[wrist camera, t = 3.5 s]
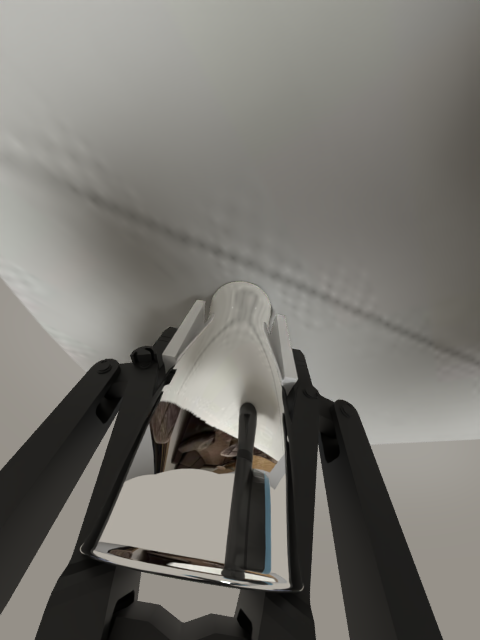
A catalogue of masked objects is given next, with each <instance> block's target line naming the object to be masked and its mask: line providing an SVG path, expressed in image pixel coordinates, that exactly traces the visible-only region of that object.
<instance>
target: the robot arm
mask: <svg viewBox="0 0 480 640" xmlns="http://www.w3.org/2000/svg"><path fill="white" fill-rule="evenodd" d="M204 324H205V301H202V300H196V302H195V303H194V305H193V307H192V308H191V310H190V311H189V313H188V314H187V316H186V317H185V319H184V321H183V322H182V324H181V325H180V327H179V328H173V327H169V328H168V329H166V330H165V331H164V332H163V333H162V335H161V337H160V338H159V339H158V341H157V342H156V343H155V344H154V346H153V347H150V346H144V347H140V348H138V349H136V350H134V351H133V352H132V354H131V355H130V356H131V359H132V362H133V363H126V364H119V363H118V362H117V361H116V360H114V359H105V360H102V361H100V362H98V363H96V364H95V365H94V366H92V367H91V369H90V370H89V371H88V372H87V373H86V374H85V376H83V378H82V379H81V380H80V381H79V382H78V383H77V385H76V386H75V387H74V388H73V389H72V390H71V391H70V392H69V393H68V395H67V396H66V397H65V398H64V399H63V400H62V402H61V403H60V404H59V405H58V406H57V407H56V408H55V409H54V411H53V412H52V413H51V414H50V415H49V416H48V417H47V419H46V420H45V421H44V422H43V423H42V424H41V425H40V426H39V428H38V429H37V430H36V431H35V432H34V433H33V434H32V435H31V437H30V438H29V439H28V440H27V441H26V442H25V443H24V445H23V446H22V447H21V448H20V449H19V450H18V451H17V452H16V454H15V455H14V456H13V457H12V458H11V459H10V460H9V462H8V463H7V464H6V465H5V466H4V467H3V468H2V470H1V471H0V614H1V613H2V611H3V609H4V608H5V606H6V605H7V603H8V601H9V600H10V598H11V596H12V594H13V593H14V591H15V589H16V588H17V586H18V584H19V582H20V581H21V579H22V577H23V575H24V574H25V572H26V570H27V569H28V567H29V565H30V563H31V562H32V560H33V558H34V556H35V555H36V553H37V551H38V549H39V548H40V546H41V544H42V543H43V541H44V539H45V537H46V536H47V534H48V532H49V530H50V529H51V527H52V525H53V523H54V522H55V520H56V518H57V517H58V515H59V513H60V511H61V510H62V508H63V506H64V504H65V503H66V501H67V499H68V497H69V496H70V494H71V492H72V491H73V489H74V487H75V485H76V484H77V482H78V480H79V478H80V477H81V475H82V473H83V472H84V470H85V468H86V466H87V465H88V463H89V461H90V459H91V458H92V456H93V454H94V452H95V451H96V449H97V447H98V446H99V444H100V442H101V440H102V438H103V437H104V435H105V433H106V432H107V430H108V428H109V427H110V425H111V423H112V421H113V420H114V418H115V416H116V414H117V413H118V415H117V419H116V421H115V425H114V428H113V431H112V434H111V437H110V440H109V443H108V446H107V449H106V453H105V456H104V459H103V462H102V465H101V468H100V471H99V475H98V478H97V481H96V484H95V487H94V490H93V493H92V496H91V499H90V503H89V506H88V509H87V512H86V515H85V518H84V522H83V524H82V528H81V531H80V534H79V537H78V540H77V543H76V546H75V549H74V552H73V555H72V558H71V560H70V562H69V564H68V566H67V567H66V569H65V570H64V572H63V573H62V575H61V576H60V577H59V579H58V581H57V583H56V585H55V587H54V589H53V591H52V593H51V596H50V598H49V601H48V603H47V606H46V609H45V611H44V614H43V617H42V620H41V623H40V626H39V629H38V631H37V634H36V637H35V640H316V636H315V625H314V620H313V615H312V611H311V606H310V579H311V562H312V543H313V523H314V506H315V488H316V470H317V452H318V445H319V452H320V458H321V464H322V470H323V476H324V483H325V488H326V495H327V501H328V507H329V513H330V520H331V525H332V531H333V537H334V543H335V550H336V556H337V563H338V569H339V575H340V581H341V587H342V594H343V599H344V606H345V612H346V617H347V624H348V630H349V637H350V640H443V638H442V636H441V633H440V631H439V628H438V625H437V622H436V620H435V617H434V614H433V612H432V609H431V606H430V604H429V601H428V599H427V596H426V593H425V590H424V588H423V585H422V582H421V580H420V577H419V574H418V572H417V569H416V566H415V564H414V561H413V558H412V556H411V553H410V550H409V548H408V545H407V542H406V540H405V537H404V534H403V532H402V529H401V526H400V524H399V521H398V518H397V516H396V513H395V510H394V508H393V505H392V502H391V500H390V497H389V494H388V492H387V489H386V486H385V484H384V481H383V478H382V476H381V473H380V470H379V468H378V465H377V463H376V460H375V457H374V454H373V452H372V449H371V446H370V444H369V441H368V438H367V436H366V433H365V430H364V428H363V425H362V422H361V420H360V417H359V414H358V412H357V411H356V409H355V408H354V407H353V406H352V405H351V404H350V403H348V402H347V401H344V400H337V401H335V402H333V401H331V400H329V399H326V398H324V397H323V396H321V395H320V394H319V392H318V390H317V389H316V388H315V387H313V385H312V382H311V378H310V375H309V371H308V368H307V364H306V360H305V357H304V355H303V353H302V352H301V351H300V350H297V349H292V348H291V343H290V338H289V333H288V328H287V323H286V319H285V316H284V315H279V314H276V317H275V320H274V323H273V326H272V329H271V332H270V335H269V337H270V340H271V343H272V346H273V349H274V352H275V355H276V358H277V361H278V364H279V368H280V371H281V374H282V378H283V382H284V386H285V390H286V394H287V399H288V405H289V411H290V417H291V424H292V433H293V443H294V452H295V464H296V478H297V492H298V510H299V528H300V543H301V557H302V568H303V577H304V582H305V590H304V591H303V592H301V593H273V592H263V591H253V590H245V589H241V590H240V594H239V598H238V602H237V607H236V611H235V615H234V617H227V616H222V615H217V614H209V615H206V616H203V617H200V618H197V619H194V620H191V621H189V622H185V623H183V622H181V621H179V620H178V619H177V618H176V617H174V616H173V615H172V614H171V613H169V612H168V611H167V610H166V609H164V608H163V607H162V606H161V605H157V604H152V603H146V602H140V601H137V599H138V591H139V584H140V576H141V572H140V571H136V570H131V569H127V568H123V567H119V566H115V565H111V564H107V563H103V562H100V561H97V560H94V559H91V558H88V557H86V556H83V555H82V554H80V553H79V547H80V545H81V543H82V542H83V540H84V538H85V537H86V535H87V533H88V531H89V529H90V527H91V525H92V523H93V521H94V519H95V516H96V514H97V512H98V510H99V508H100V506H101V504H102V501H103V499H104V497H105V495H106V493H107V491H108V488H109V486H110V484H111V482H112V480H113V477H114V475H115V473H116V471H117V468H118V466H119V464H120V462H121V460H122V458H123V455H124V453H125V451H126V449H127V447H128V445H129V443H130V441H131V438H132V436H133V434H134V432H135V430H136V428H137V426H138V424H139V422H140V420H141V418H142V416H143V414H144V412H145V410H146V408H147V406H148V404H149V403H150V401H151V399H152V397H153V395H154V393H155V392H156V390H157V388H158V387H159V385H160V383H161V382H162V380H163V378H164V376H165V375H166V373H167V372H168V370H169V369H170V367H171V366H172V365H173V363H174V362H175V360H176V359H177V358H178V356H179V355H180V353H181V352H182V351H183V350H184V348H185V347H186V346H187V345H188V343H189V342H190V341H191V340H192V339H193V337H194V336H195V335H196V334H197V333H198V331H199V330H200V329H201V328H202V326H203V325H204ZM118 411H119V412H118Z"/></svg>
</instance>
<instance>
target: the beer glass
mask: <svg viewBox="0 0 480 640" xmlns="http://www.w3.org/2000/svg"><path fill="white" fill-rule="evenodd" d="M270 315H271V304H270V301H269V298H268V296H267V295H266V293H265V292H264V291H263V290H262V289H261V288H259V287H258V286H256V285H254V284H252V283H249V282H243V281H236V282H231V283H228V284H225V285H223V286H222V287H221V288H219V289H218V290H217V291H216V292H215V294H214V296H213V298H212V301H211V305H210V313H209V317H208V319H207V321H206V322H205V324H204V325H203V326H202V328H201V329H200V330H199V331H198V333H197V334H196V335H195V336H194V337H193V339H192V340H191V341H190V342H189V343H188V345H187V346H186V347H185V348H184V350H183V351H182V352H181V353H180V355H179V356H178V358H177V359H176V360H175V362H174V363H173V365H172V366H171V367H170V369H169V370H168V372H167V373H166V375H165V376H164V378H163V380H162V382H161V383H160V385H159V387H158V388H157V390H156V392H155V393H154V395H153V397H152V399H151V401H150V403H149V404H148V406H147V408H146V410H145V412H144V414H143V416H142V418H141V420H140V422H139V424H138V426H137V428H136V430H135V432H134V434H133V436H132V438H131V441H130V443H129V445H128V447H127V449H126V451H125V453H124V455H123V458H122V460H121V462H120V464H119V466H118V468H117V471H116V473H115V475H114V477H113V480H112V482H111V484H110V486H109V488H108V491H107V493H106V495H105V497H104V499H103V501H102V504H101V506H100V508H99V510H98V512H97V514H96V516H95V519H94V521H93V523H92V525H91V527H90V529H89V531H88V533H87V535H86V537H85V538H84V540H83V542H82V543H81V545H80V547H79V553H80V554H82V555H83V556H86V557H88V558H91V559H94V560H97V561H100V562H103V563H107V564H111V565H115V566H119V567H123V568H127V569H131V570H136V571H140V572H145V573H150V574H155V575H160V576H165V577H170V578H175V579H181V580H186V581H193V582H198V583H204V584H211V585H217V586H223V587H230V588H238V589H245V590H253V591H263V592H273V593H301V592H303V591H304V590H305V582H304V577H303V568H302V557H301V543H300V528H299V510H298V492H297V478H296V464H295V452H294V443H293V433H292V424H291V417H290V411H289V405H288V399H287V394H286V390H285V386H284V382H283V378H282V374H281V371H280V368H279V364H278V361H277V358H276V355H275V352H274V349H273V346H272V343H271V340H270V337H269V333H268V324H269V320H270Z"/></svg>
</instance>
